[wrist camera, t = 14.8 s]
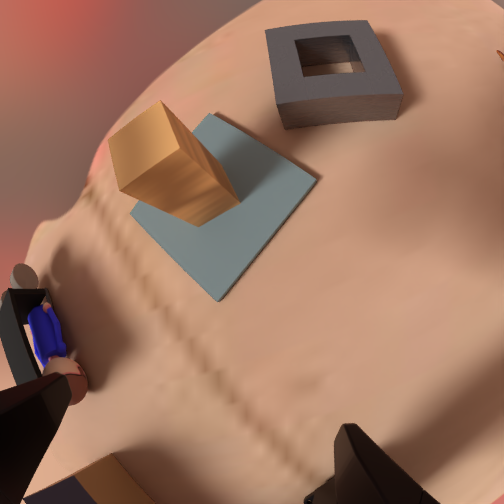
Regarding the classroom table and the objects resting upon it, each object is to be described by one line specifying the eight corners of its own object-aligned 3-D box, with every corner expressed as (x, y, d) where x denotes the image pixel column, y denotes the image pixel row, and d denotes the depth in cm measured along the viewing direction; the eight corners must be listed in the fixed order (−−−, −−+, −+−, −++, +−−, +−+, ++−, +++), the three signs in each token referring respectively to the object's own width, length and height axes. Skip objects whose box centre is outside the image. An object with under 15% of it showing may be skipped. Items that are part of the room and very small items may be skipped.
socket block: (366, 46, 20) (367, 20, 16) (395, 119, 18) (403, 93, 15) (273, 55, 22) (264, 30, 19) (284, 129, 21) (276, 104, 17)
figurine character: (37, 303, 28) (81, 411, 23) (-11, 296, 21) (24, 421, 16) (57, 268, 28) (107, 385, 22) (4, 256, 21) (41, 395, 15)
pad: (316, 181, 20) (316, 179, 19) (219, 301, 20) (217, 302, 20) (211, 115, 23) (209, 112, 22) (133, 214, 23) (129, 213, 23)
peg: (221, 164, 21) (160, 100, 12) (240, 203, 20) (179, 148, 12) (182, 188, 22) (107, 139, 13) (198, 227, 21) (119, 190, 12)
